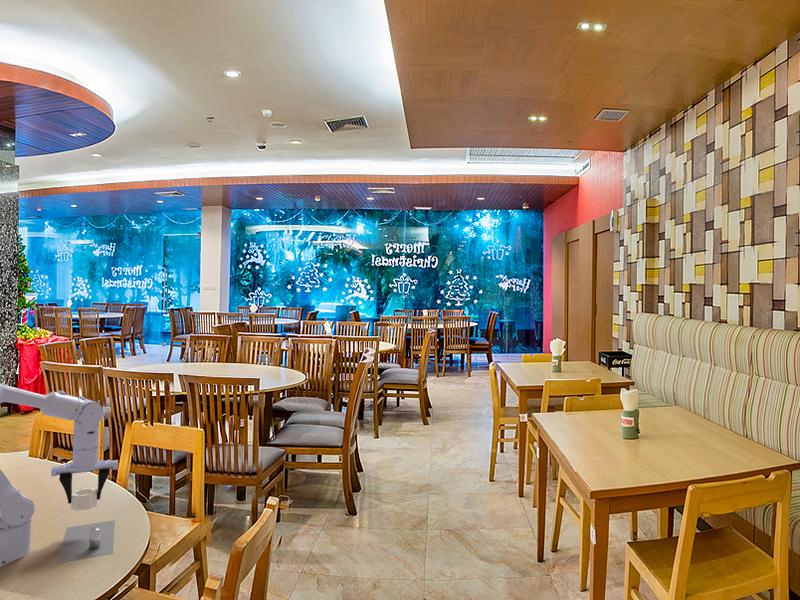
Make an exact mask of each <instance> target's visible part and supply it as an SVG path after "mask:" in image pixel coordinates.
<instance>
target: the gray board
mask: <svg viewBox="0 0 800 600" xmlns="http://www.w3.org/2000/svg"><path fill="white" fill-rule="evenodd" d="M115 523H116V520H109V521H101V522H95V523H89V524H82V525H81V524H80V525H75V526H68V527H66V529H65V533H64V534H65V535H64V538H63V542H62V545H61V550H60V553H59V557H58V563H57V564H60V563H61V564H62V563H67V562H73V561H80V560H83V559H84V560H85V559H91V558H96V557H101V556H107V555H113V554H114V543H115V541H114V540H115V526H116V525H115ZM93 527H101V540H100V548H98V549H95V550H90V549H89V530H90V529H91V528H93Z"/></svg>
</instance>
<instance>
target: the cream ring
mask: <svg viewBox="0 0 800 600" xmlns="http://www.w3.org/2000/svg"><path fill="white" fill-rule="evenodd" d="M97 492H98V488H95V487H87V488H80V489H76V490H73V491H72V495H71V503H70V509H71V510H74V511H84V510H89V509H92V508H95V507H97V505H98V500H97Z"/></svg>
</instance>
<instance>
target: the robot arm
mask: <svg viewBox="0 0 800 600" xmlns="http://www.w3.org/2000/svg"><path fill="white" fill-rule="evenodd" d="M2 403H10V404H15V405H16V404H17V405H21V406H26V407H27V406H28V407H32V408H36V409H37V408H38V409H39V410H40V411H41V414H42V415H43V416H48V417H52V418H53V417H54V418H58V419H63V420H66V421H73V440H72V443H73V444H72V462H71V463H68V464H61V465H55V466H52V467H51V471H50V476H51V478H52V477H56V476H59V478H58V479H59V482H60V484H61V486H62V487H63V489H64V491H65V492H64V493H65V495H66V498H67V504H71V495H72V492H73V488H72V487H73V474H79V473H80V474H81V473H88V472H89V473H91V472H98V475H97V476H98V477H97V489H98V490H97V501H100V500H101V494H102V491H103V489H104V485H105V483H106V482H107V479H108V477H109V475H110V470H113V471H115V470H118V465H119V464H118V462H119V461H118V460H117V459H116V460H115V459H114V460H100V459H99V458H100V454H99V453H100V423H101V421H102V419H103V418H104V416H105V411H103V407H102V405H101V404H100V403H98V402H96V401H93V400H91V399H87V398H86V397H84V396H80V395H79V396H78V397H77V396H74V395H68V394H66V391H63V390H57V392H56V391H51V392H49V393H47V394H40V393H36V392H33V391H29V390H25V389H21V388H18V387H14V386H10V385H7V384H2V383H0V404H2ZM35 508H36V506H35V503H34V502H33V500H32V499H31V498H28V497H27V496H25V495H24V494H23V492H22V491H21V490H20V489H18V488H16V487H15V486H14V484H13V483H12V482H11V481H10V480H9V478H8V477H7V475H6V474H5V473H4V472H3V470H2V468H0V568H1V567H3V566H5V565H7V564H10V563H11V562H13V561H16V560H19V559H22V558H24V557H26V556H27V555H28V554H30V552H31V543H32V542H31V539H32V538H31V537H32V536H31V534H32V517H33V515H34V513H35V510H36V509H35Z"/></svg>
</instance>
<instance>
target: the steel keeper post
mask: <svg viewBox="0 0 800 600" xmlns="http://www.w3.org/2000/svg"><path fill="white" fill-rule="evenodd" d="M100 540H101V527H93V528H91V529H90V530H89V549H90V550H95V549H98V548H100Z"/></svg>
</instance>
